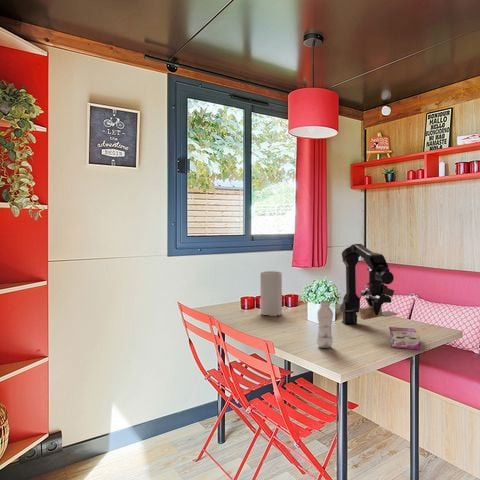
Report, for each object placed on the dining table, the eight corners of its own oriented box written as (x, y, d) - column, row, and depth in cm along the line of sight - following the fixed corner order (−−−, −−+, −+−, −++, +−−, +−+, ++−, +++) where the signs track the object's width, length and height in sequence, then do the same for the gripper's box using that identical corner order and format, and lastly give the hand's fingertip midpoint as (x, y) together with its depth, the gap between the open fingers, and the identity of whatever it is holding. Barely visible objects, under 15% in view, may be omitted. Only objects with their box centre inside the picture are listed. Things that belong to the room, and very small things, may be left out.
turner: (366, 320, 170) (365, 309, 169) (358, 317, 175) (357, 307, 175) (397, 314, 175) (396, 304, 174) (388, 311, 180) (388, 301, 180)
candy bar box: (388, 337, 176) (391, 347, 160) (388, 326, 176) (392, 336, 160) (414, 339, 173) (420, 350, 157) (414, 328, 172) (420, 338, 157)
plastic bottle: (315, 345, 164) (315, 300, 164) (330, 344, 165) (330, 299, 164) (319, 350, 158) (319, 303, 157) (335, 349, 159) (335, 302, 158)
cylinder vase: (282, 316, 216) (282, 273, 215) (261, 316, 216) (260, 273, 215) (280, 311, 229) (280, 271, 228) (260, 311, 229) (260, 271, 228)
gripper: (402, 283, 166) (402, 318, 166) (381, 277, 184) (381, 309, 185) (379, 284, 164) (378, 319, 165) (360, 278, 183) (360, 310, 183)
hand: (375, 314), depth 175 cm, fingers closed on turner, 3 cm apart
